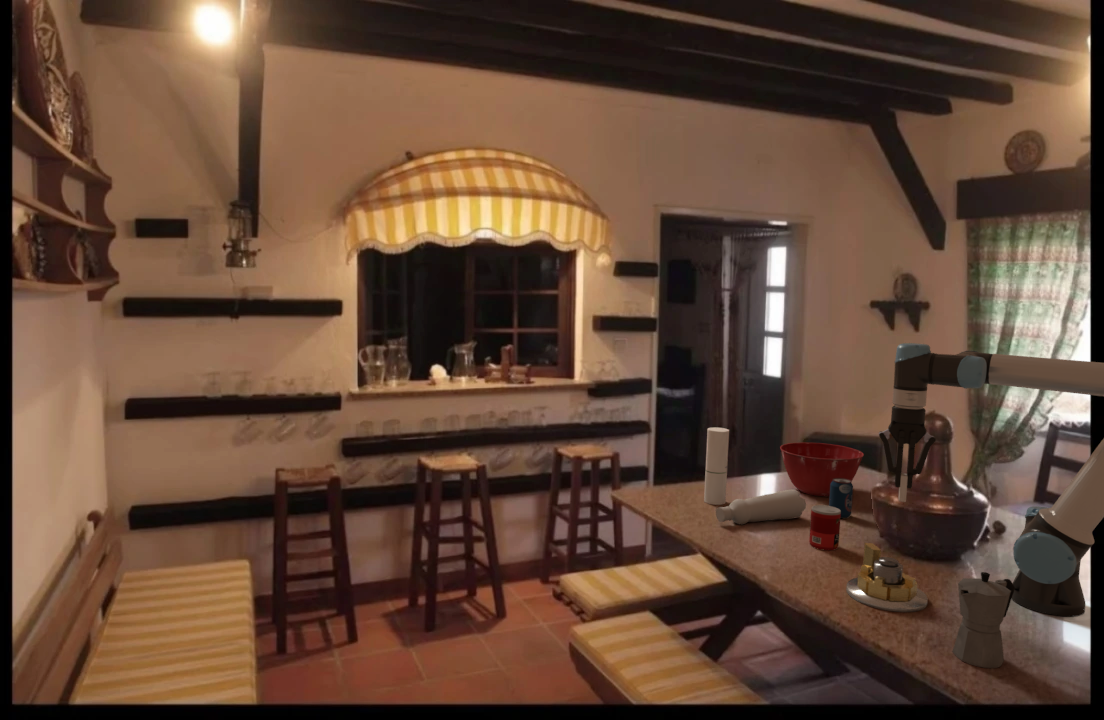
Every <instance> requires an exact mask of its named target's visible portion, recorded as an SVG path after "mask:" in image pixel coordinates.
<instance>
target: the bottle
mask: <svg viewBox="0 0 1104 720" xmlns="http://www.w3.org/2000/svg"><path fill="white" fill-rule="evenodd" d="M800 495H801V491H797V489H793V488H792V489H786V490H785V489H784V490H779V491H777V492H773V493H768V494H764V495H763V494H762V495H759V496H754V497H748V498H746V499H742V498H736V499H734V500H733V501H731V502H730V504H729V505H727V506H724V507H723V506H719V507H717V508H716V509H715V516H716V519H717V521H718V522H720V523H723V522H727V521H729V522H731V521H732V522H733V523H735V524H738V525H740V524H741V525H740V526H742V525H745V524H747V523H748V522H749V523H751V522H752V523H755V522H764V521H766V522H767V521H775V520H789V519H791V520H792V519H795V518H797V519H798V518H800V517H801V516H802V515H803V512H804V510H806V509H807V507H806V506H807V504H806V499H804V498H803V497H801V496H800Z"/></svg>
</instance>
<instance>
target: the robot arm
mask: <svg viewBox="0 0 1104 720" xmlns="http://www.w3.org/2000/svg"><path fill="white" fill-rule="evenodd" d="M895 353H896V354H895V360H894V373H893V374H894V375H893V389H892V400H891V401H892V402H891V403H892V404H893V406H892V407H891V419H890V423H889V425H888V427H887V429H885V430H883V431H879V432H878V437H879V438H880V439H881V440H880V441H882V443H883V449H884V455H885V460H886V465H887V470H888V471H889V472H890V473H891V472H892V473H894V486H895V487H896V488H898V498H897V499H898V502H902V503H906V502H907V491H908V489H912V487H913V478H914V476H915V475H920V474H921V473H923V472H922V471H923V469H924V465H925V463H926V460H927V457H928V454H929V452H930V449H931V447H932V445H933V444H934V443H935V442H936V440H937V439H936V437H935V436H934V435H931V434H930V433H928V432H927V429H926V426H925V425H926V409H925V408H924V407H926V406H927V395H928V393H927V391H928V385H935V386H937V385H938V386H947V387H954V388H955V387H956V388H962V389H981V388H982V387H984V384H985V385H995V386H1004V387H1013V388H1015V387H1016V388H1022V389H1023V388H1024V389H1025V388H1026V389H1032V390H1041V391H1042V390H1043V391H1051V392H1060V393H1068V394H1069V393H1070V394H1078V395H1079V394H1081V395H1090V396H1097V397H1104V362H1098V361H1097V362H1096V361H1085V360H1075V359H1073V360H1072V359H1061V358H1052V357H1051V358H1049V357H1037V356H1036V357H1035V356H1028V355H1027V356H1026V355H1025V356H1024V355H1014V354H1013V355H1011V354H1000V353H988V352H979V351H976V350H965V351H961V352H959V353H956V354H945V353H944V354H943V353H934V352H932V350H931V347H930V345H929V344H925V343H915V342H913V343H912V342H911V343H910V342H909V343H906V342H905V343H899V344H898V345H897V347H896V351H895ZM890 434H891V436H892V437H893V439H894V440H895V441H896V458H895V465H894V464H893V459H892V454H891V449H890V448H891V447H890V444H889V443H890V442H889V441H888V440H889V439H890ZM923 437H924V438H923ZM921 439H923V442H924V443H923V446H922V449H921V451H920V453H919V456H918V457H919V458H918V459H917V461H916V464H915V452H916V451H915V449H916V444H917V443H918V442H920V441H921ZM905 445H908V451H907V464H906V473H903V471H902V470H903V456H904V448H905ZM914 465H915V466H914ZM914 467H915V468H914ZM1064 489H1065V490H1063V492H1062V493H1061V494H1060V496H1059V497H1058V499H1056V501H1055V502H1054V504H1053V505H1052V506H1051V507H1047V506H1040V505H1039V506H1038V505H1037V506H1035V505H1033V506H1029V507H1028V508H1027V509H1026V514H1025V515H1024V518H1025V524H1024V529H1023V530H1022V532H1021V534H1020V535H1019V537H1018V538H1017V539H1016V541H1015V542H1014V544H1013V548H1012V550H1013V559H1014V563H1015V564H1016V566H1017V568H1018V569H1019V570H1018V571H1017V572H1016V573H1017V574H1016V575H1015V577H1014V579H1013V582H1012V583H1013V585H1014V587H1015V589H1014V593H1013V595H1012V598H1011V601H1012V600H1013V602H1015V603H1017V604H1018V605H1020V606H1022V607H1024V608H1027V609H1029V610H1032V611H1036V612H1038V613H1043V614H1048V615H1053V616H1060V617H1078V616H1080V615H1083V614H1084V613H1085V612H1086V600H1085V596H1084V592H1083V588H1082V585H1081V584H1082V583H1081V581H1080V570H1081V560H1082V558H1084V556H1085V555H1086V554H1087V552H1088V551H1089V550H1090V548H1092V546H1093V545H1094V544H1095V539H1094V538H1095V537H1094V535H1093V531H1094V530H1095V528H1096V527H1097V526H1098V525H1099V523H1100V522H1101V521H1102V520H1103V519H1104V438H1103V439H1102V440H1101V441H1100V443H1099V444H1098V445H1097V446H1096V447H1095V449H1094V451H1093V452H1092V453H1091V455H1090V456H1089V457H1088V459H1086V461H1085V462H1084V464H1083V465H1082V466H1081V468H1080V469H1079V471H1078V472H1076V475H1074V477H1073V478H1072V480H1071V481H1070V483H1068V485H1067V486H1066V488H1064Z"/></svg>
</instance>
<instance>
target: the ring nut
mask: <svg viewBox="0 0 1104 720" xmlns="http://www.w3.org/2000/svg"><path fill="white" fill-rule="evenodd" d="M881 554H882V549H881V548H880V547H878V546H877V545H875V543H873V542H871V543H870V542H864V548H863V559H862V560H863V561H862V565H861V566H860V572H858V573H857V578H858V584H857V585H858V587H859V588H860V589H861V590H862V591H863V592H864V593H867V594H868V595H870V596H874V597H877V598H880V599H884V600H887V599H888V600H890V601H908V600H911V599H913V598H914V597H915V596H916V594H917V588H918V581H916V578H915V577H912V576H910V575H909V574H906V573H904V572H903V573H902V585H886V584H885V578H883V577H880V576H877V577H875V580H874V581H873V570H874V561H875V560H879V558H880V557H882V556H881Z"/></svg>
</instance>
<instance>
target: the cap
mask: <svg viewBox="0 0 1104 720" xmlns="http://www.w3.org/2000/svg"><path fill="white" fill-rule="evenodd" d="M903 571H904V566H903V564H901V563H900V562H899V560H898V559H896V558H894V557H891V556H890V557H889V556H881V557H880V558H879V560H875V561H874V570H873V581H874V580H875V577H877V576H880V577H883V578H885V584H886V585H902V573H904V572H903ZM857 584H858V577H854V578H852V579H850V580H849V581H847V582H846V593H847V594H848V596H849V597H851V598H852V599H853V600H855V601H857V602H858V603H861V604H862V605H865V606H868V607H871V608H875V609H878V610H883V611H887V612H893V613H894V612H896V613H913V612H919V611H922V610H924V609H925V608H926V607H927V606H928V596H927V594H926V593H925V592H924V591H923V590H921V589H920V588H918V587H917V594H916V596H915V597H914V598H913V599H911V600H908V601H890V600H888V599H887V600H884V599H880V598H877V597H874V596H870V595H868V594H867V593H864V592H863V591H862V590H861V589H860V588H859V587H858V585H857Z"/></svg>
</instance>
